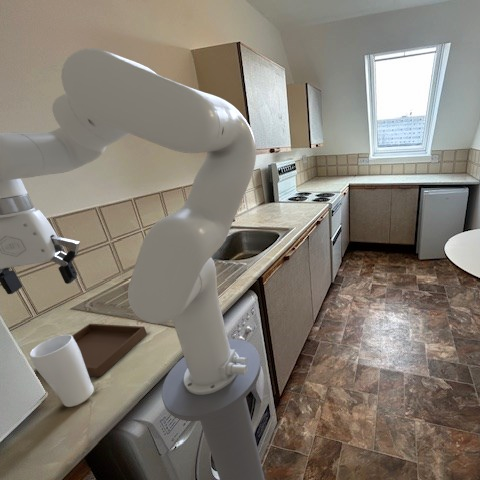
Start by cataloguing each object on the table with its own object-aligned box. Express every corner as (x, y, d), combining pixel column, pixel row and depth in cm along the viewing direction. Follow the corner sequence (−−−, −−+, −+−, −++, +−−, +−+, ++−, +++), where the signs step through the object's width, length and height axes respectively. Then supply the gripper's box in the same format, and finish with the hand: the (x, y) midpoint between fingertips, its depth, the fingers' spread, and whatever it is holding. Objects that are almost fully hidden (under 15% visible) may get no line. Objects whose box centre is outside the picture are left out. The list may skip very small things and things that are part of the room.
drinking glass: (67, 417, 56) (35, 362, 50) (54, 403, 59) (23, 351, 53) (104, 391, 61) (78, 339, 56) (90, 380, 64) (65, 330, 59)
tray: (147, 334, 79) (144, 326, 78) (100, 377, 65) (96, 368, 64) (93, 330, 82) (89, 323, 81) (37, 370, 68) (32, 362, 67)
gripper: (-78, 219, 44) (-24, 305, 50) (48, 204, 49) (84, 285, 55) (-38, 209, 51) (6, 286, 57) (69, 197, 56) (99, 270, 62)
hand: (44, 285), depth 56 cm, fingers open, 9 cm apart
